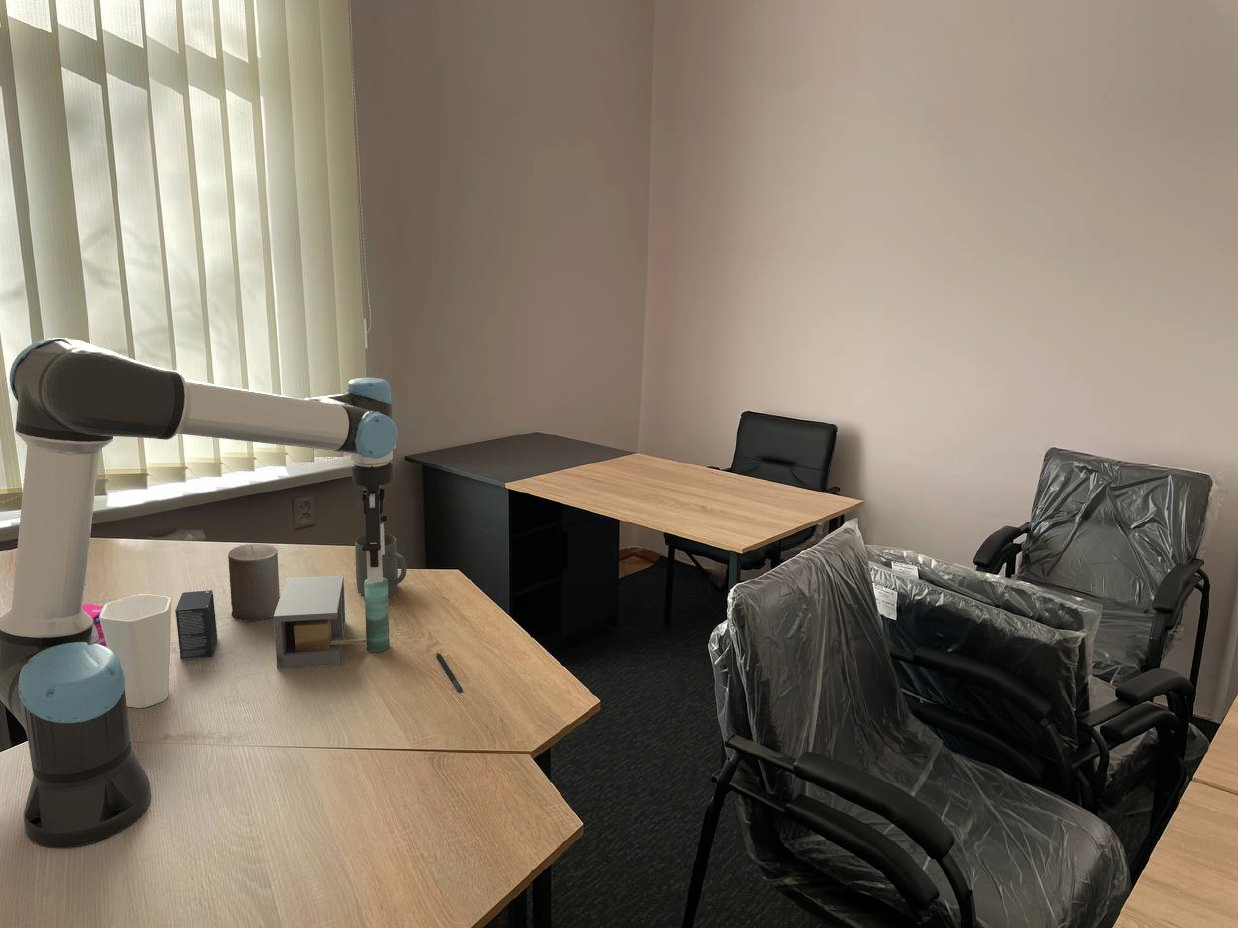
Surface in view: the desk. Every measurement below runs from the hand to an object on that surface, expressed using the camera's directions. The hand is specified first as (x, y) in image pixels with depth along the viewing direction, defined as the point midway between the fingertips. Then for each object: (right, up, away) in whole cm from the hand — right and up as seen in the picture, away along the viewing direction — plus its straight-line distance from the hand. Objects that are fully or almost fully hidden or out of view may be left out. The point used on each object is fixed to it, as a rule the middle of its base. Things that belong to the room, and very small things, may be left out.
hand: (376, 567), depth 167 cm
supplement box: (-50, -18, -8) cm, 54 cm away
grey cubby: (-14, -16, +4) cm, 21 cm away
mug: (-7, -9, +30) cm, 32 cm away
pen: (+15, -20, -4) cm, 25 cm away
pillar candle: (-30, -12, +17) cm, 37 cm away
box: (-34, -16, 0) cm, 38 cm away
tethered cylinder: (-7, -16, +3) cm, 18 cm away
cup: (-35, -21, -17) cm, 44 cm away
